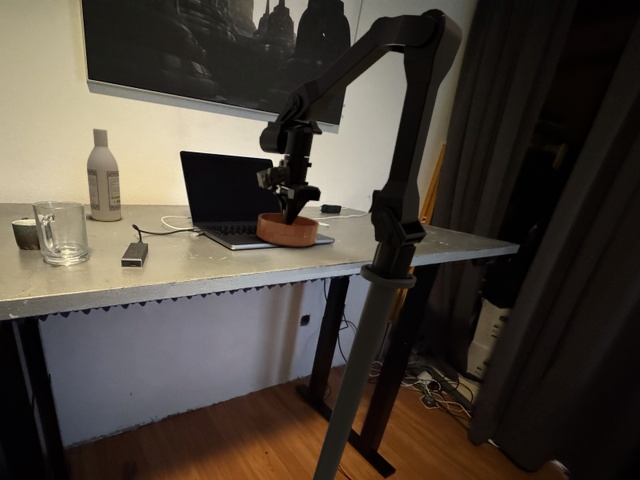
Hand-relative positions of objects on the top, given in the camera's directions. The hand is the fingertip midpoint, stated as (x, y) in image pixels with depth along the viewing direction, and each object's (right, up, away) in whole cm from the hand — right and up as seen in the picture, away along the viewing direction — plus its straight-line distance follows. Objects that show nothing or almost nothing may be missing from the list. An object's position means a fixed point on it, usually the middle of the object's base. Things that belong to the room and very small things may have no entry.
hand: (286, 225), depth 80 cm
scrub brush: (0, -2, +1) cm, 3 cm away
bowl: (0, -3, +1) cm, 4 cm away
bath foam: (-45, +2, +2) cm, 45 cm away
